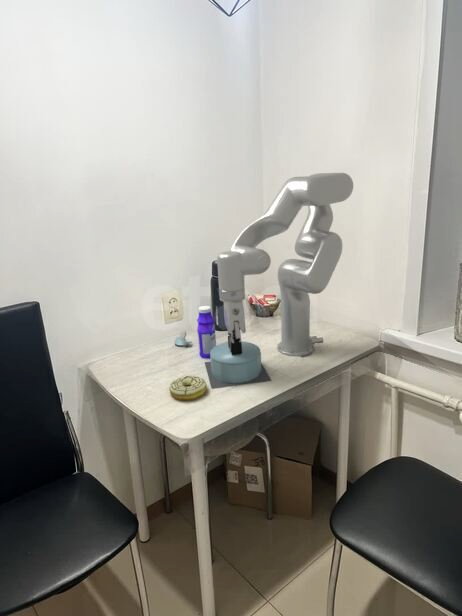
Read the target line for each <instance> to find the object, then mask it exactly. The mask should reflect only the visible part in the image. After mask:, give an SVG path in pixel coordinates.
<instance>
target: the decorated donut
mask: <svg viewBox="0 0 462 616" xmlns="http://www.w3.org/2000/svg"><path fill="white" fill-rule="evenodd" d="M207 387H208V385H207V382H206V379H205V378H203V377H200V376H195V375H186V376H185V375H184V376H181V377H178V378H176V379H173V380H172V381H171V382H170V384H169V387H168V389H169V392H170V395H171V396H172V397H173V398H174V399H176V400H179V401H183V402H185V401H193V400H196V399H198V398H200V397H202V396H203V395H204V394H205V393H206V391H207Z"/></svg>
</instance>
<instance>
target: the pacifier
mask: <svg viewBox="0 0 462 616" xmlns="http://www.w3.org/2000/svg"><path fill="white" fill-rule="evenodd" d="M179 335H180V336H178V337H176V338H175V339H174V343H173V344H172V347H173V348H175V349H179V350H184V349H186V348H187V346H188V345H190V344H191V343H193V342H192V341H188V340H187V339H186V337H187V331H186V329H181V330H180V332H179Z"/></svg>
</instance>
